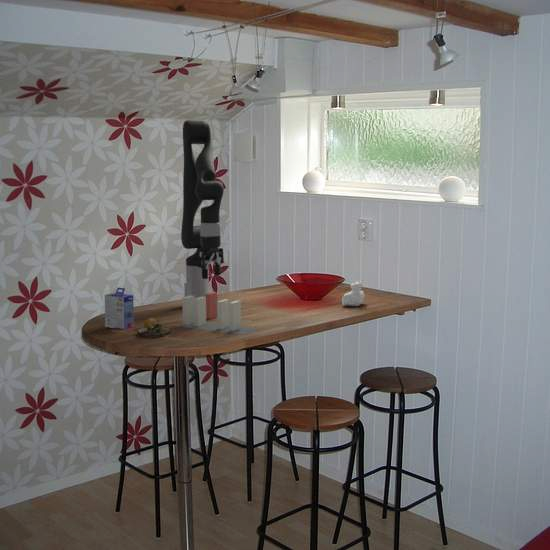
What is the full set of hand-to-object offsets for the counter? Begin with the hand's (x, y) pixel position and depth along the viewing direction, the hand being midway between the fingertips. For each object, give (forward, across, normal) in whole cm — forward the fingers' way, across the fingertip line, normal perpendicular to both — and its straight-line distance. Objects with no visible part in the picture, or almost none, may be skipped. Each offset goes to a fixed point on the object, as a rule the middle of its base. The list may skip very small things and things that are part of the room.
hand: (211, 277), depth 288 cm
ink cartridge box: (+16, +28, -22) cm, 39 cm away
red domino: (+16, 0, 0) cm, 16 cm away
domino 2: (+16, +13, +3) cm, 21 cm away
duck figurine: (+16, -49, +38) cm, 64 cm away
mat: (+16, +13, +11) cm, 23 cm away
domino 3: (+16, +13, +13) cm, 24 cm away
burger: (+17, +30, -5) cm, 35 cm away
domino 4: (+16, +13, +18) cm, 27 cm away
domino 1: (+16, +13, -2) cm, 20 cm away
